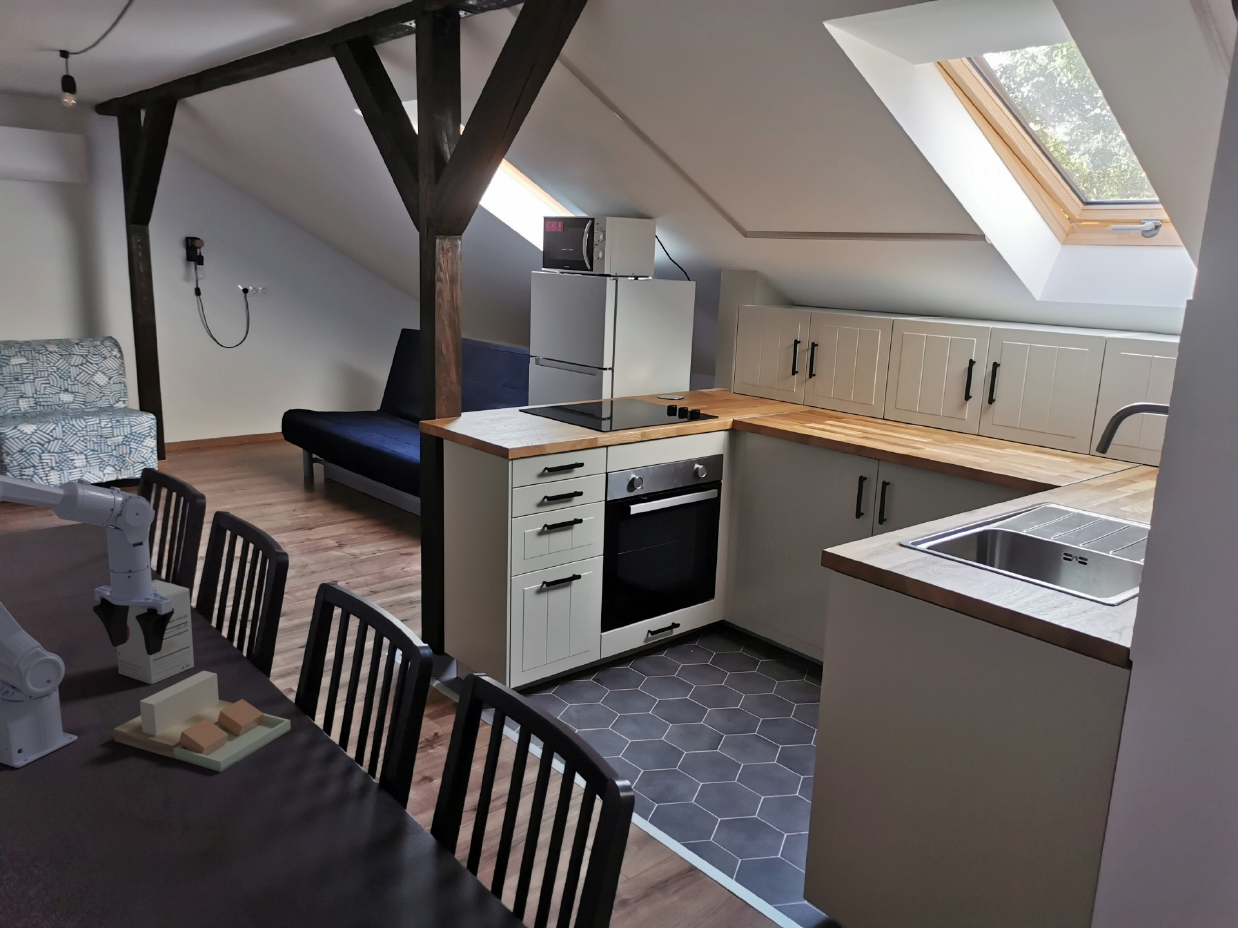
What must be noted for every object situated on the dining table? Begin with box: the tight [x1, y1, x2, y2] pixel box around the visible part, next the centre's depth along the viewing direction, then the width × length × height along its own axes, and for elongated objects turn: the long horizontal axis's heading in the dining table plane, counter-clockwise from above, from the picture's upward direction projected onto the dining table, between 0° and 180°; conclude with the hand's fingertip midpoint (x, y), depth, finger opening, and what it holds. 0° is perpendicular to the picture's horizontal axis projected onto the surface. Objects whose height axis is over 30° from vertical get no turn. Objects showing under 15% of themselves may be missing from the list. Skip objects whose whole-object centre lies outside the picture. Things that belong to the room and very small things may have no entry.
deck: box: [113, 699, 235, 759], centre depth 145 cm, size 14×12×2 cm
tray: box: [173, 712, 292, 773], centre depth 141 cm, size 14×9×2 cm, turn 157°
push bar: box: [139, 670, 220, 736], centre depth 145 cm, size 12×3×5 cm, turn 157°
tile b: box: [218, 698, 265, 736], centre depth 145 cm, size 4×4×2 cm
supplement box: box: [116, 579, 195, 685], centre depth 165 cm, size 9×9×15 cm
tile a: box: [179, 719, 228, 755], centre depth 139 cm, size 4×4×2 cm
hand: (136, 648), depth 151 cm, fingers open, 7 cm apart
